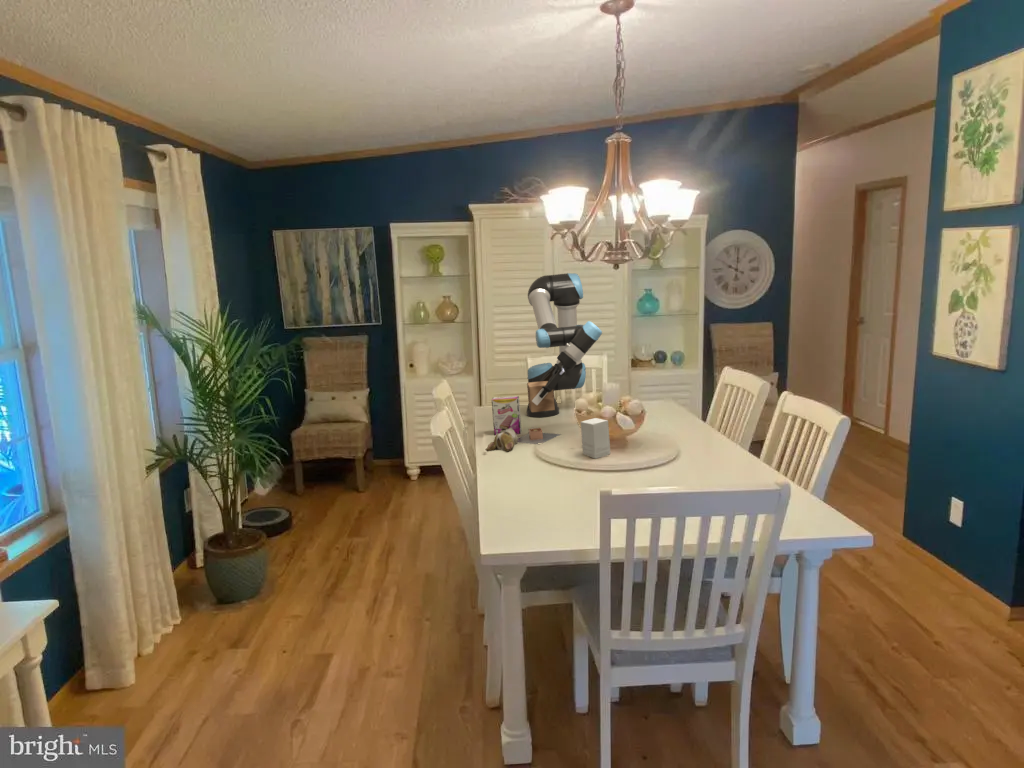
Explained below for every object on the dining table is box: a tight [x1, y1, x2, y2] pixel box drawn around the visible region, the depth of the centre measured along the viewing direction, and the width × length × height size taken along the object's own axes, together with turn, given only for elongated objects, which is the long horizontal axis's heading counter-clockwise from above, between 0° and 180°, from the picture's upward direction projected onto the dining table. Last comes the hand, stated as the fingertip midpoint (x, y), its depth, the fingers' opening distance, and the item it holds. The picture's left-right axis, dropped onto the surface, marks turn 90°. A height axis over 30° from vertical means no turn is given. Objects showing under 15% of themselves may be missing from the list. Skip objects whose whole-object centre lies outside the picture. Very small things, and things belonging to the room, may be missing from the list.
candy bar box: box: [491, 395, 522, 436], centre depth 288 cm, size 11×5×16 cm, turn 84°
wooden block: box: [526, 381, 555, 412], centre depth 271 cm, size 9×9×10 cm
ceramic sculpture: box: [485, 427, 519, 452], centre depth 267 cm, size 11×9×15 cm
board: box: [517, 432, 562, 445], centre depth 277 cm, size 16×14×1 cm
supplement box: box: [580, 417, 611, 459], centre depth 249 cm, size 7×7×13 cm
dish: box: [528, 427, 543, 440], centre depth 277 cm, size 5×5×3 cm
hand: (532, 400), depth 271 cm, fingers closed on wooden block, 9 cm apart
